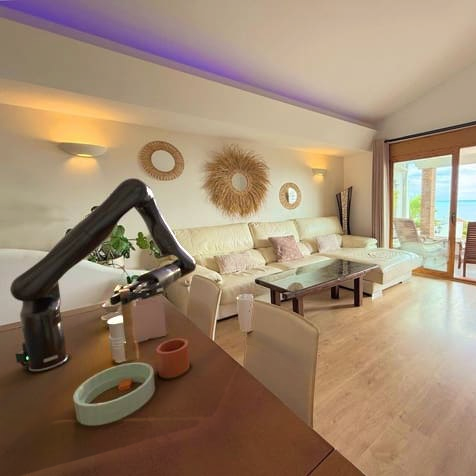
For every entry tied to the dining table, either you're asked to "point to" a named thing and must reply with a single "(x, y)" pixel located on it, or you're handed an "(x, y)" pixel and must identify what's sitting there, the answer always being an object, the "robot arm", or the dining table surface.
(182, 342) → the crock
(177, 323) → the dining table surface
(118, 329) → the candle
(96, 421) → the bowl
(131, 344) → the stirring stick
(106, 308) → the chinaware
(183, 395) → the dining table surface
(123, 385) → the carrot chunk
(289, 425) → the dining table surface
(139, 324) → the greeting card
